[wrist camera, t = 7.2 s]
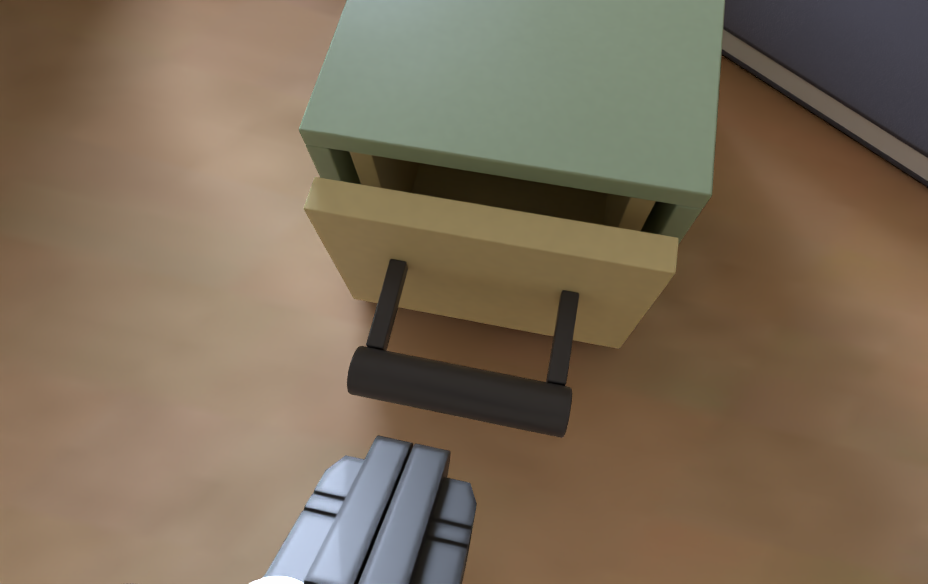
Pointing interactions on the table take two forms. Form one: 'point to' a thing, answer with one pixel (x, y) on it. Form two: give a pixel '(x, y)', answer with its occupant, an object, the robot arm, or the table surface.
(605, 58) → the cabinet
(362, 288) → the drawer
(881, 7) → the notebook
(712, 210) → the table surface
